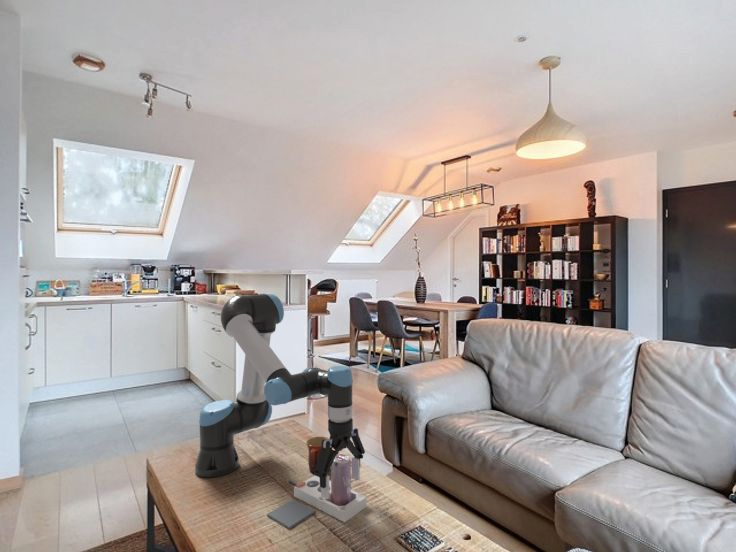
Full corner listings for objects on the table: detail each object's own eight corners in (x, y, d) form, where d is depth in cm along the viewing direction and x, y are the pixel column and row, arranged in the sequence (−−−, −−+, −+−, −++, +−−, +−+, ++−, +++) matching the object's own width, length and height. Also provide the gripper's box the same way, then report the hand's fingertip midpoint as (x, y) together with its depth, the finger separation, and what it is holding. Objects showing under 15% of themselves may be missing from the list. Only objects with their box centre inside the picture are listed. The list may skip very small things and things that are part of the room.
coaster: (267, 515, 120) (267, 513, 120) (293, 501, 128) (293, 499, 128) (289, 529, 114) (289, 527, 114) (315, 512, 122) (315, 510, 122)
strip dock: (277, 488, 135) (277, 477, 135) (301, 475, 144) (301, 465, 144) (343, 523, 116) (343, 510, 116) (367, 505, 125) (367, 494, 125)
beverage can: (342, 499, 129) (341, 452, 129) (354, 506, 124) (354, 458, 124) (327, 507, 125) (326, 458, 124) (340, 515, 120) (339, 464, 120)
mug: (311, 462, 154) (311, 435, 154) (333, 464, 152) (333, 437, 152) (299, 478, 142) (299, 449, 142) (323, 480, 140) (323, 451, 140)
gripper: (319, 434, 112) (320, 510, 112) (375, 409, 131) (375, 475, 132) (301, 427, 117) (301, 501, 117) (357, 405, 136) (358, 468, 136)
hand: (341, 487), depth 124 cm, fingers open, 13 cm apart
